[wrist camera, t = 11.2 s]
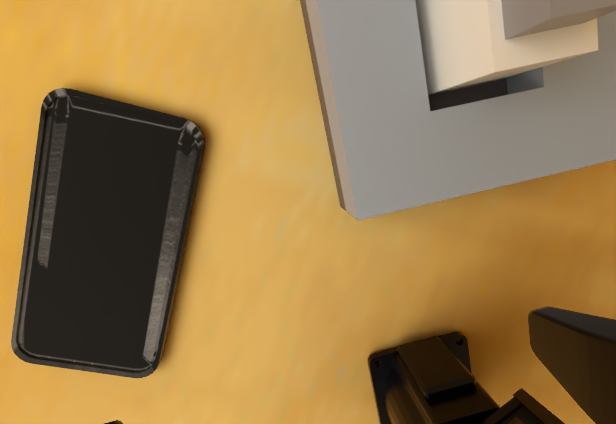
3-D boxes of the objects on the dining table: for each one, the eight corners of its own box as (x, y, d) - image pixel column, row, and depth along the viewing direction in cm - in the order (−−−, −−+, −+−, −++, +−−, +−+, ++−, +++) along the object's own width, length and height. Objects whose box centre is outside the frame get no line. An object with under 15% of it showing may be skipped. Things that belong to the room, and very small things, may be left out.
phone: (206, 123, 18) (154, 381, 20) (210, 125, 19) (160, 369, 21) (42, 81, 17) (6, 360, 19) (56, 85, 18) (20, 348, 20)
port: (561, 155, 21) (634, 156, 17) (340, 206, 20) (359, 221, 16) (542, -151, 18) (626, -242, 14) (279, -107, 17) (282, -192, 13)
